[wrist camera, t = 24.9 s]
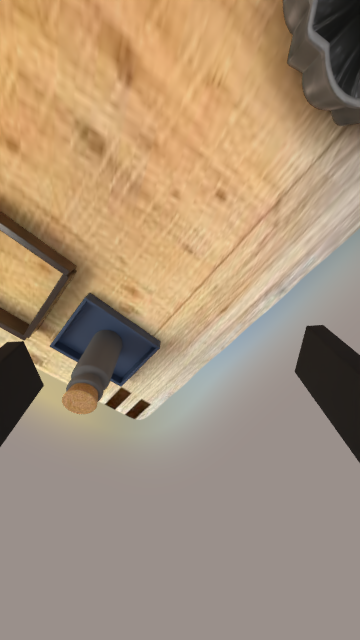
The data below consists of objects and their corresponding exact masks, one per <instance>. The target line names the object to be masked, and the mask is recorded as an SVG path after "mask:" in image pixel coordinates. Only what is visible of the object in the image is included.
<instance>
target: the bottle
mask: <svg viewBox="0 0 360 640" xmlns="http://www.w3.org/2000/svg"><path fill="white" fill-rule="evenodd" d="M121 348H122V339H121V337H120V336H119V335H118V334H117V333H115V332H113V331H110V330H101V331H99V332H97V333H96V334H95V335H94V336H93V338H92V340H91V341H90V343H89V345H88V346H87V348H86V350H85V351H84V353H83V355H82V356H81V358H80V360H79V361H78V363H77V365H76V367H75V368H74V370H73V372H72V375H71V381H70V382H69V383H68V385H67V388H66V393H65V394H64V395H63V397H62V403H63V405H64V406H65V407H66V408H67V409H68V410H70V411H71V412H74V413H78V414H87V413H90V412H92V411H94V410H95V409H96V407H97V402H98V401H99V400H100V399H101V397H102V395H103V390H105V389H106V388H107V386H108V385H109V382H110V380H111V377H112V374H113V371H114V369H115V366H116V363H117V360H118V357H119V354H120V351H121Z"/></svg>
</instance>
